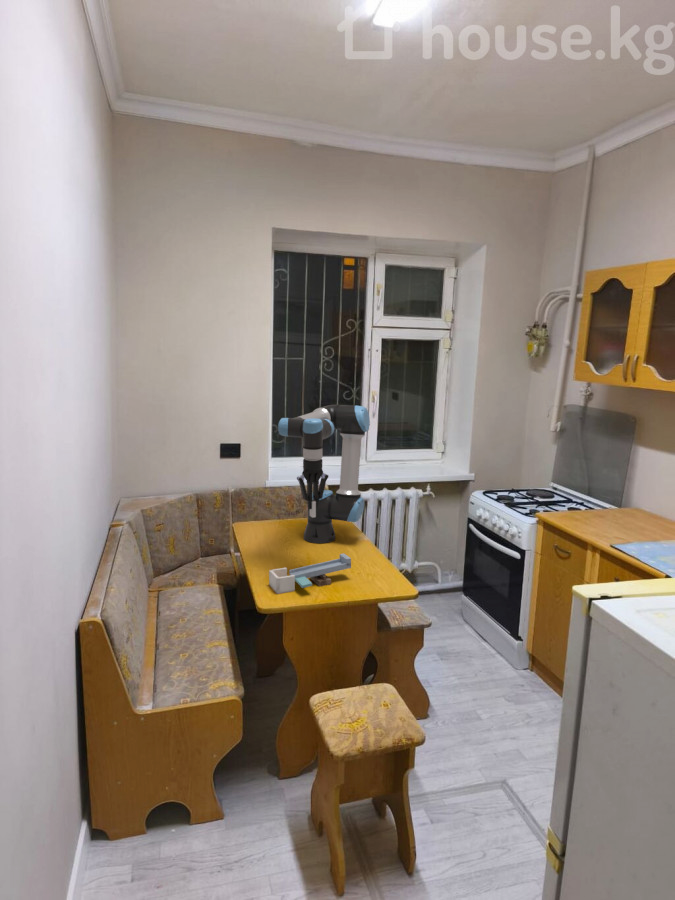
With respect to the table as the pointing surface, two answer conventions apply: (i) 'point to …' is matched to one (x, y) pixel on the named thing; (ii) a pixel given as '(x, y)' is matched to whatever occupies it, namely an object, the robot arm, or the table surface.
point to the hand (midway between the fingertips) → (312, 516)
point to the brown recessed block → (321, 580)
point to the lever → (319, 569)
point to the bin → (281, 581)
